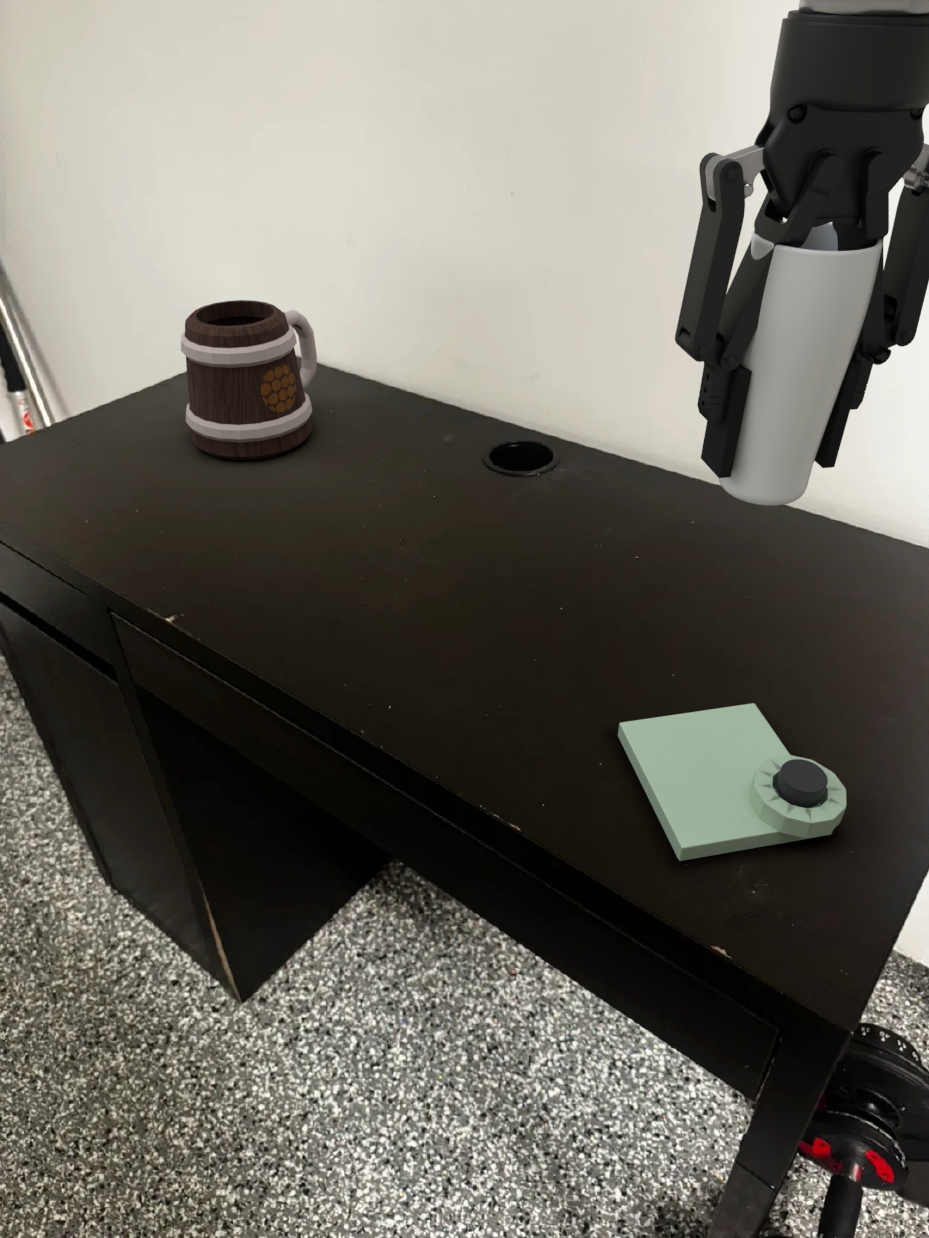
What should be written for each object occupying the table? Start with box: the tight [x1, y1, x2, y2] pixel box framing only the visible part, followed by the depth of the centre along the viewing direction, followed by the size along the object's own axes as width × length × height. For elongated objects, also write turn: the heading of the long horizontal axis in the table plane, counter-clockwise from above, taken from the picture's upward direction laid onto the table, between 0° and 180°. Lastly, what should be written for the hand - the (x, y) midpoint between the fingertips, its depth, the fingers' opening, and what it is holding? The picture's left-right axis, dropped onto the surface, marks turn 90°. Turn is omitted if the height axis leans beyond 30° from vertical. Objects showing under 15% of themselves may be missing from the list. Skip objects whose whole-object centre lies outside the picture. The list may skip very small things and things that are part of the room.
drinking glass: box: [718, 220, 884, 507], centre depth 51 cm, size 7×7×15 cm
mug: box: [180, 299, 318, 461], centre depth 107 cm, size 20×15×15 cm
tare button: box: [776, 759, 828, 808], centre depth 59 cm, size 3×3×2 cm
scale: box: [617, 702, 847, 862], centre depth 63 cm, size 13×12×3 cm
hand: (767, 461), depth 55 cm, fingers closed on drinking glass, 6 cm apart
